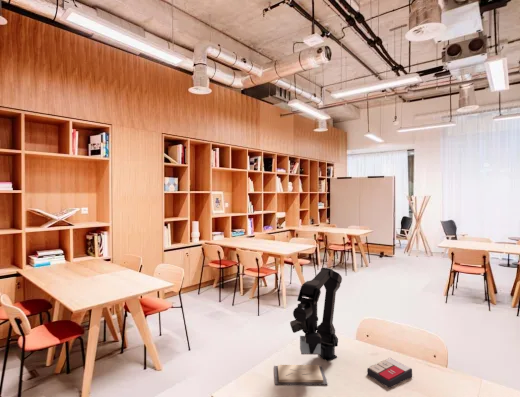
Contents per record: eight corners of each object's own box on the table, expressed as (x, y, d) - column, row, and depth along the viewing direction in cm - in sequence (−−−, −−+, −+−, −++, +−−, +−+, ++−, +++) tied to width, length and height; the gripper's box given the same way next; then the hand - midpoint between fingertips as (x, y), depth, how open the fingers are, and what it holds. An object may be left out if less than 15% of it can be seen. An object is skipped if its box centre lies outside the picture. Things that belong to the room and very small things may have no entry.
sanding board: (321, 367, 139) (321, 363, 139) (327, 385, 126) (327, 381, 126) (274, 367, 140) (274, 363, 140) (275, 385, 127) (275, 381, 127)
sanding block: (318, 348, 135) (318, 335, 135) (320, 354, 130) (320, 341, 130) (300, 348, 135) (300, 335, 135) (301, 354, 130) (301, 341, 130)
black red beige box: (366, 366, 134) (389, 355, 141) (367, 376, 134) (390, 364, 142) (388, 379, 124) (412, 367, 132) (389, 390, 125) (412, 377, 132)
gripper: (289, 305, 142) (289, 339, 142) (293, 322, 123) (293, 362, 124) (314, 305, 142) (314, 339, 142) (321, 322, 123) (321, 362, 123)
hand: (310, 350), depth 133 cm, fingers closed on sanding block, 5 cm apart
